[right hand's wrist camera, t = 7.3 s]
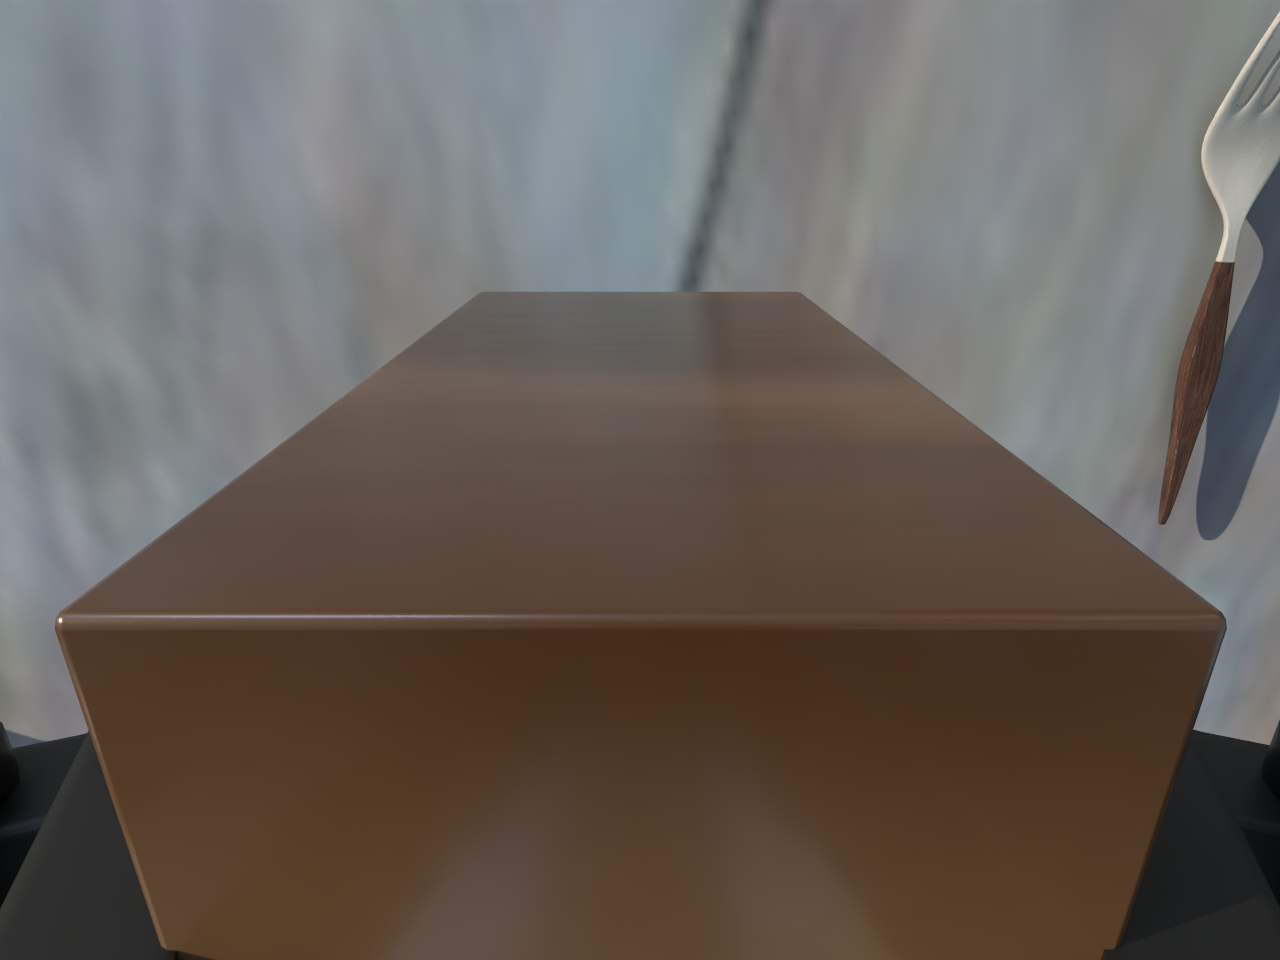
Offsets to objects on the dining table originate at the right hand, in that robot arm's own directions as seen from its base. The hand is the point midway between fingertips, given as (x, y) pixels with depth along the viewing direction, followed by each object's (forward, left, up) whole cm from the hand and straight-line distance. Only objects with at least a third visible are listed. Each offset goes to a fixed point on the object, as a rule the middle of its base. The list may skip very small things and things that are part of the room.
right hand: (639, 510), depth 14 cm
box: (+3, +10, -2) cm, 10 cm away
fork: (-18, +3, -13) cm, 22 cm away
